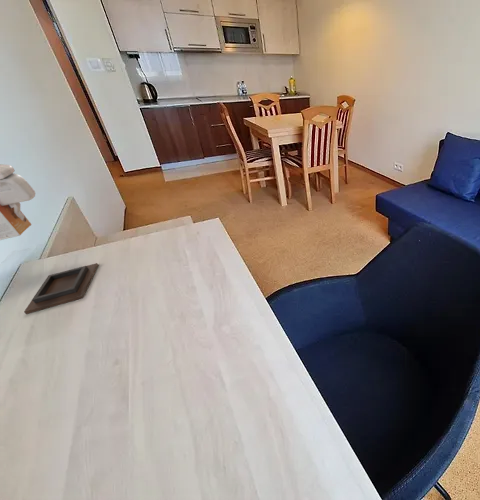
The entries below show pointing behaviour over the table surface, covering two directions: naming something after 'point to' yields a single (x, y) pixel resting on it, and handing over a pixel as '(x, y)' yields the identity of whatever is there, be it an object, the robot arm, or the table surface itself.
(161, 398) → the table surface
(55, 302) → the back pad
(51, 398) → the table surface
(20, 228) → the small box
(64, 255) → the table surface
